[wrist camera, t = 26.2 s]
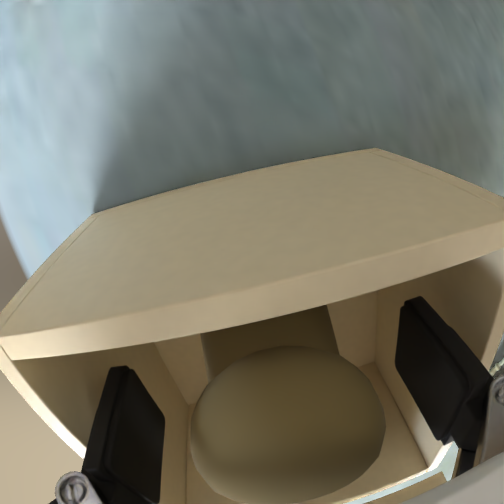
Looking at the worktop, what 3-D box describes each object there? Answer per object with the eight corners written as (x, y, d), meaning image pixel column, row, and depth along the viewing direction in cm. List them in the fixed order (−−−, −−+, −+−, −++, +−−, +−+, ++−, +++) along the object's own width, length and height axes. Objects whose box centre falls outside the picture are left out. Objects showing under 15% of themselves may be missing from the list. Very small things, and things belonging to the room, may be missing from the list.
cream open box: (91, 214, 14) (-22, 339, 6) (376, 147, 14) (531, 211, 6) (181, 403, 21) (177, 526, 12) (379, 357, 21) (437, 467, 12)
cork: (265, 186, 14) (367, 375, 4) (334, 276, 16) (438, 458, 6) (166, 266, 15) (116, 485, 5) (243, 338, 18) (269, 530, 8)
